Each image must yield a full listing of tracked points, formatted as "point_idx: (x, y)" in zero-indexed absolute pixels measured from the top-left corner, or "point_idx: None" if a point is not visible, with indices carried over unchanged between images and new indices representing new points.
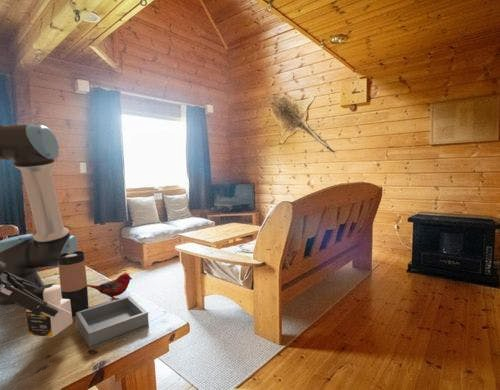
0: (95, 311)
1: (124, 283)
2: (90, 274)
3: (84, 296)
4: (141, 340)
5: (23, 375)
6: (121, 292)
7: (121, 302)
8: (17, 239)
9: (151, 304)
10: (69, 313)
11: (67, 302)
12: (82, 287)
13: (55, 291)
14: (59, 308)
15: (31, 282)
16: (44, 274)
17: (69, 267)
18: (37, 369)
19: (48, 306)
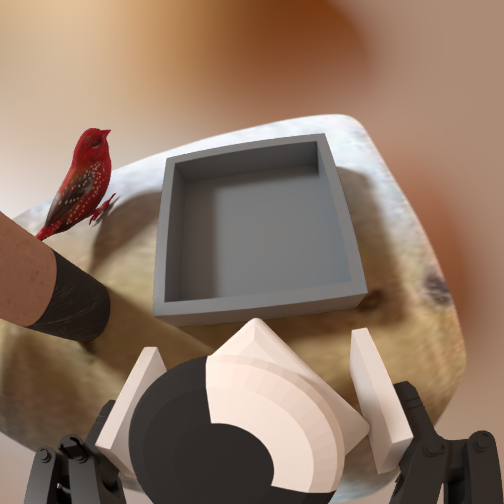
0: (171, 258)
1: (103, 155)
2: None
3: (75, 269)
4: (380, 189)
5: (368, 465)
6: (108, 181)
7: (176, 183)
8: None
9: (201, 141)
10: (368, 334)
11: (276, 335)
12: (53, 258)
13: (323, 400)
14: (388, 375)
15: (30, 478)
16: None
17: None
18: (365, 438)
19: (414, 431)
